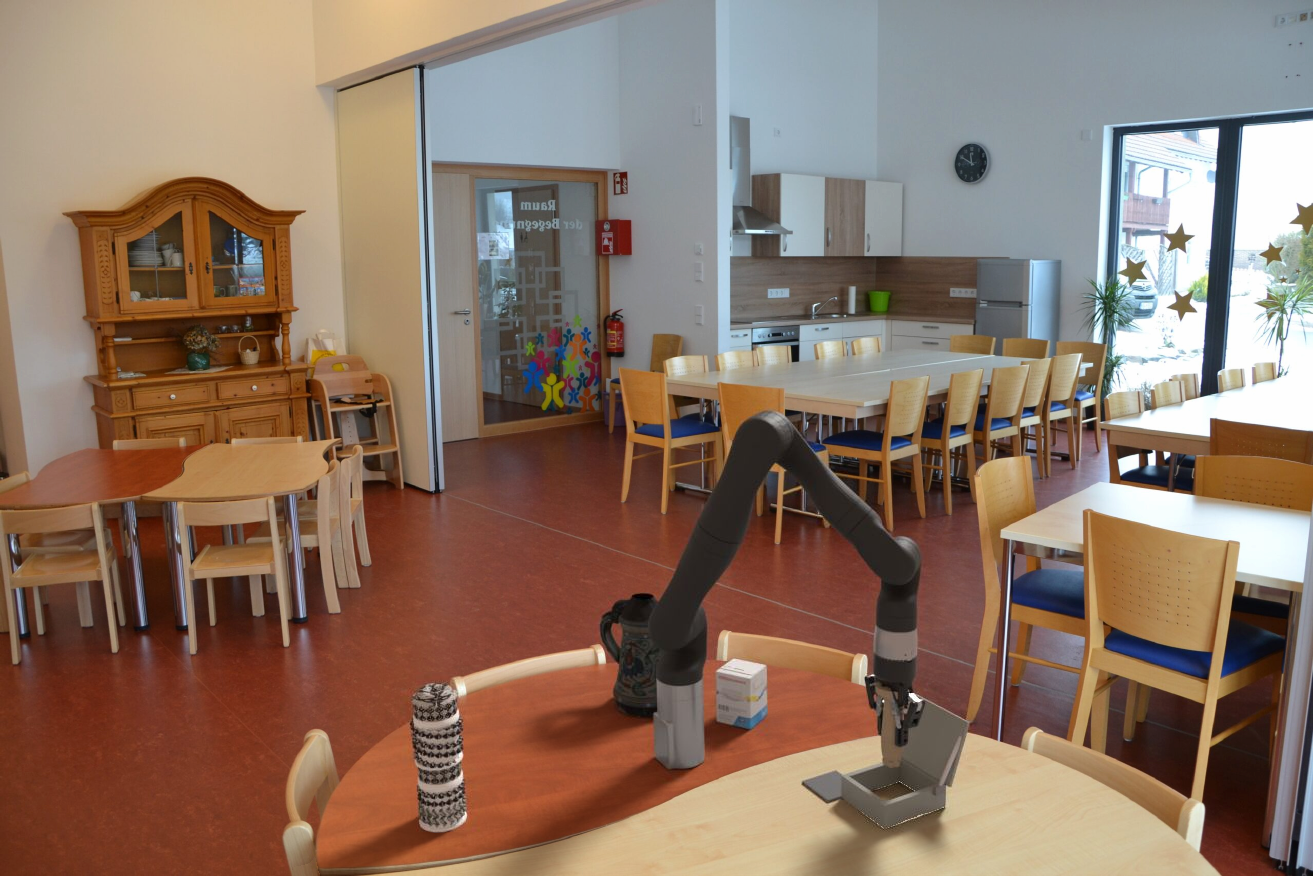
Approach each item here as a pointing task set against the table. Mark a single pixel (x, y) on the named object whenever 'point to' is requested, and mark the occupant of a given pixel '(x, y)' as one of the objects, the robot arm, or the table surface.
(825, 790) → the mat
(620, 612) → the beer stein
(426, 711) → the decorative candle
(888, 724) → the handle
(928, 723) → the case
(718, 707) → the ink box
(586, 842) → the table surface
